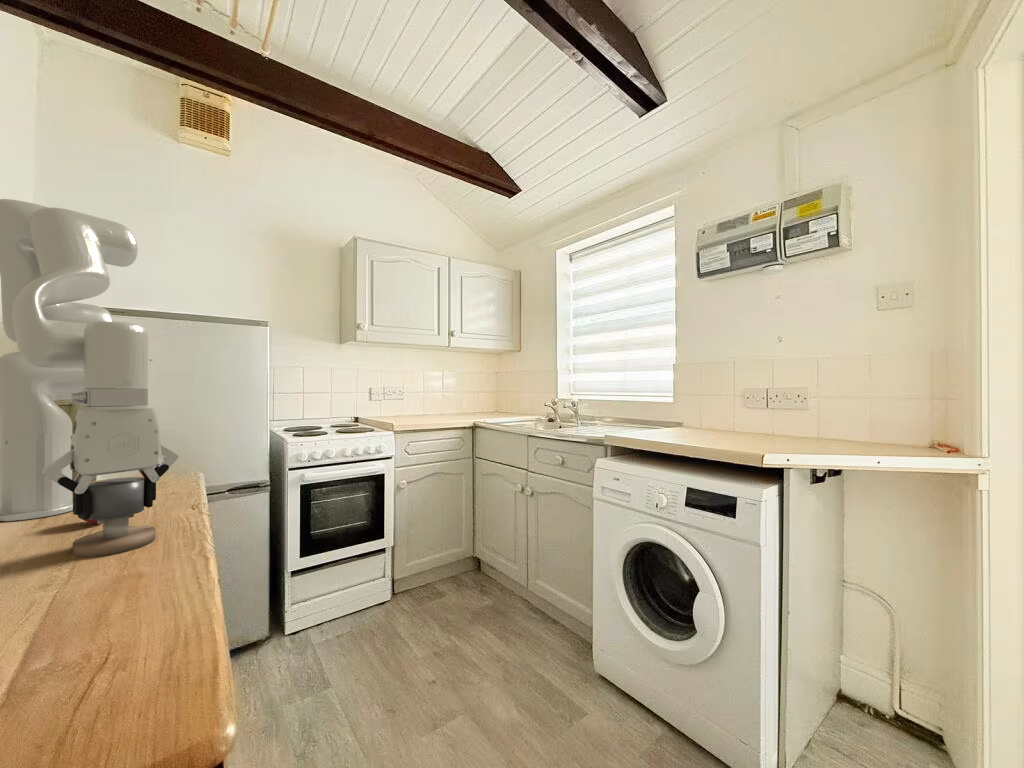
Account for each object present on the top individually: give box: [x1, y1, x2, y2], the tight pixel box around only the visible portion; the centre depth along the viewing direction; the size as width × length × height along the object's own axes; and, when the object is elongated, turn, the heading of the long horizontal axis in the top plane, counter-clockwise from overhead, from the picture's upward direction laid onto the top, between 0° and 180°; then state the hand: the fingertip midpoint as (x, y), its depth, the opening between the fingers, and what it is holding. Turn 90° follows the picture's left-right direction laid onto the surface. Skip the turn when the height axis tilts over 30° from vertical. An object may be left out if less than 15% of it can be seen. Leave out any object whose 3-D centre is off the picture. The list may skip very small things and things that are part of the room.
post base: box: [72, 514, 156, 558], centre depth 68 cm, size 10×10×5 cm
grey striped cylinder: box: [87, 476, 145, 520], centre depth 68 cm, size 7×8×5 cm
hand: (116, 511), depth 67 cm, fingers closed on grey striped cylinder, 6 cm apart
